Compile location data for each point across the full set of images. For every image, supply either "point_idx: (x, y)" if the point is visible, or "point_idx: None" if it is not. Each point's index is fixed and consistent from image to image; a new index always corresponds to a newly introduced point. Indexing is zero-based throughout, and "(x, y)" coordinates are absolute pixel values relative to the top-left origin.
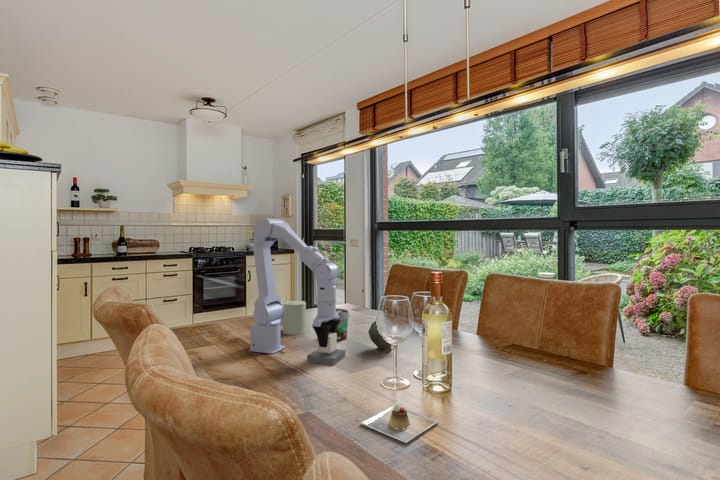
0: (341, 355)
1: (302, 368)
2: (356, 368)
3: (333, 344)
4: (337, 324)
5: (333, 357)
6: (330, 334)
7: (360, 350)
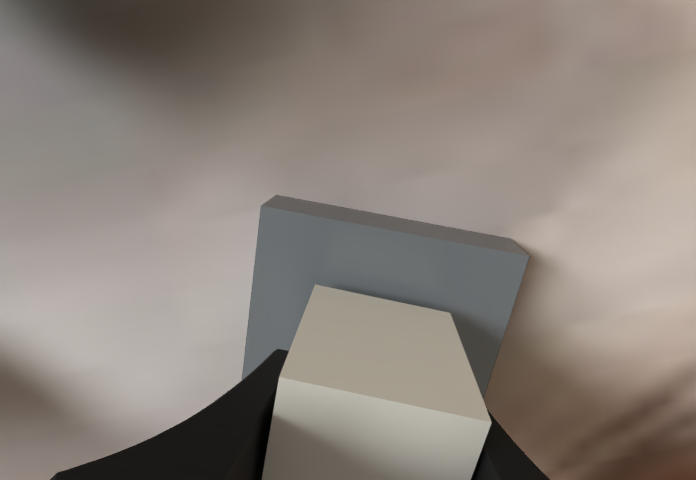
0: (358, 218)
1: (588, 429)
2: (573, 29)
3: (387, 330)
4: (176, 478)
5: (491, 267)
6: (364, 443)
7: (78, 96)
